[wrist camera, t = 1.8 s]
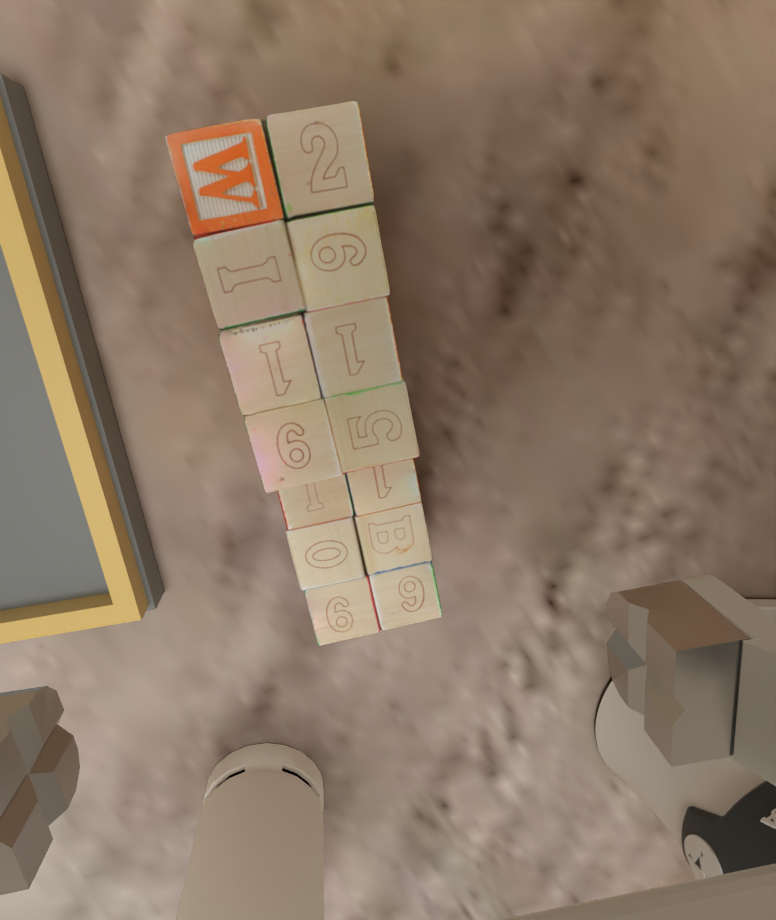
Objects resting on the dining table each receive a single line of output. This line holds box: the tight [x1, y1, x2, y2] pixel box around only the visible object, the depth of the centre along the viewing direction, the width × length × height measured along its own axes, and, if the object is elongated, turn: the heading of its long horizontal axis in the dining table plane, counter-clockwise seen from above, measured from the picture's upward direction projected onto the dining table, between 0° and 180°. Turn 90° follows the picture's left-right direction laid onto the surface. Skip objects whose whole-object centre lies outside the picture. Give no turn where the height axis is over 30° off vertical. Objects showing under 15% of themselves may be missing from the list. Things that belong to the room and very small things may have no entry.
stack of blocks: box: [165, 101, 442, 645], centre depth 27 cm, size 21×6×12 cm, turn 10°
